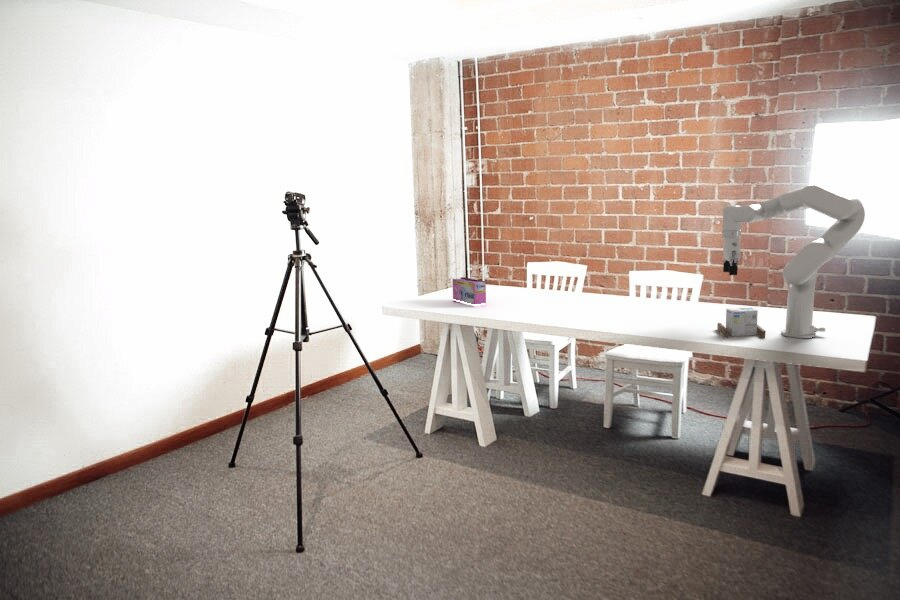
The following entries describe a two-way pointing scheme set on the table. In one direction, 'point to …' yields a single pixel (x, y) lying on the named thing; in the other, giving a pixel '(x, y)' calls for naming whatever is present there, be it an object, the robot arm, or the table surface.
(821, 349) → the table surface
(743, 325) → the light bulb box
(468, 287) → the gum box
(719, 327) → the walnut chute
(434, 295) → the table surface
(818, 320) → the table surface
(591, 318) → the table surface
